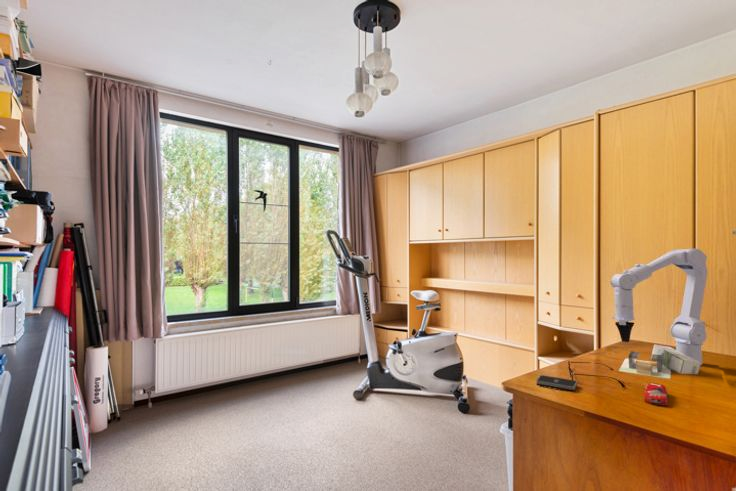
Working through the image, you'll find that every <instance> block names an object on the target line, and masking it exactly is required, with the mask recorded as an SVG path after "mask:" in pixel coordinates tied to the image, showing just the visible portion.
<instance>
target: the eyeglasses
mask: <svg viewBox="0 0 736 491" xmlns="http://www.w3.org/2000/svg"><path fill="white" fill-rule="evenodd" d="M567 362H568V367H567V368H568V371H569V377H570V378H571V380H574V375H575V376H586V377H587V376H591V377H598V375H593V374H583V373H573V370H572V368H571V364H572V363H573V364H577V363H578V364H590V362H587V361H586V362H585V361H569V360H568V361H567ZM595 364H598V365H602V366H605V367H607V368H609V369H610V370H611V371H614V368H612V367H610V366H608V365H607V364H603V363H601V362H600V363H599V362H595ZM599 377H601V378H608V379H609V378H610V379H613V380H615V381H617V382H618V383H619V384H620V385H621V388H626V386H625V384H624V383H623V382H622V381H621V380H619V379H617V378H616V377H615V378H614V377H610V376H603V375H599Z"/></svg>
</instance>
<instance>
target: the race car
mask: <svg viewBox="0 0 736 491" xmlns="http://www.w3.org/2000/svg"><path fill="white" fill-rule="evenodd" d="M643 390H645V391H644V402H645V403H648V404H652V405H659V406H666V407H667V406H668V394H669V392H668V391H667V390H668V389H667V388H666V386H665V385H664V384H660V383H655V382H648V383H647V384H646V385H645V388H643Z"/></svg>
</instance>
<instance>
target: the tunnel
mask: <svg viewBox="0 0 736 491" xmlns="http://www.w3.org/2000/svg"><path fill="white" fill-rule="evenodd" d="M639 356H640V352H639V351H629V353H628V359H629V368H632V369H633V366H634V364H636V362H635V360H636V359H638V358H639ZM651 357H652V358H650V360H651V362H657V363H656V367H657V372H659V373H661V371H662V355H657V354H653V355H652V354H651Z"/></svg>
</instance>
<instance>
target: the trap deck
mask: <svg viewBox="0 0 736 491" xmlns="http://www.w3.org/2000/svg"><path fill="white" fill-rule="evenodd" d="M637 361H641V362H649V363H652V364H657V361H648V360H642V359H640V360H639V359H635V364H634V366H633V369H632V368H629V358H625V359H624V360H623V362H622V364H621V365H620V368H619V370H618V372H623V373H629V374H636V375H641V376H649V377H655V378H662V379H669V380H671V376H672V370H671V369H669V368H667V367H666V366H664V365H662V371H661V373H659V372H657V365H656V366H654V365H652V375H646V374H640V373H637V370H636V364H637Z"/></svg>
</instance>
